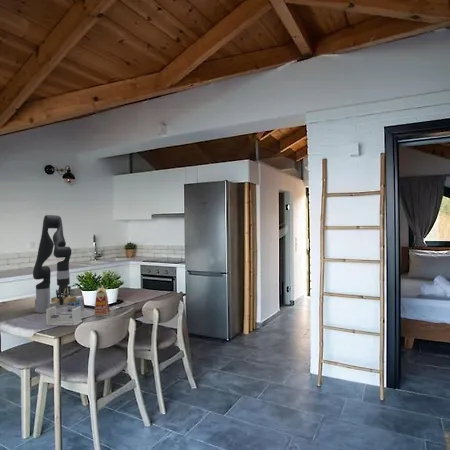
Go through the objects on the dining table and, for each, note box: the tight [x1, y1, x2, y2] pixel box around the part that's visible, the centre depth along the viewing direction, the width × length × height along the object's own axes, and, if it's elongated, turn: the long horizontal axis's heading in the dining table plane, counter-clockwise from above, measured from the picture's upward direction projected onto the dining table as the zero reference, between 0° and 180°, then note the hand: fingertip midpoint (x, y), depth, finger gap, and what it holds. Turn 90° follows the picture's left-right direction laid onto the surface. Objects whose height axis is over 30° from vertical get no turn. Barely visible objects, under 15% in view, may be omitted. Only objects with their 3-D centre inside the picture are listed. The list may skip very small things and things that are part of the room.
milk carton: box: [93, 285, 111, 317], centre depth 249 cm, size 9×9×20 cm
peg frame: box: [45, 305, 83, 326], centre depth 228 cm, size 20×9×10 cm, turn 84°
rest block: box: [59, 311, 72, 315], centre depth 238 cm, size 10×3×4 cm, turn 84°
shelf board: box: [50, 296, 76, 304], centre depth 228 cm, size 14×5×3 cm, turn 84°
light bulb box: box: [66, 295, 85, 313], centre depth 258 cm, size 11×7×11 cm, turn 168°
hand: (63, 303), depth 228 cm, fingers closed on shelf board, 5 cm apart
